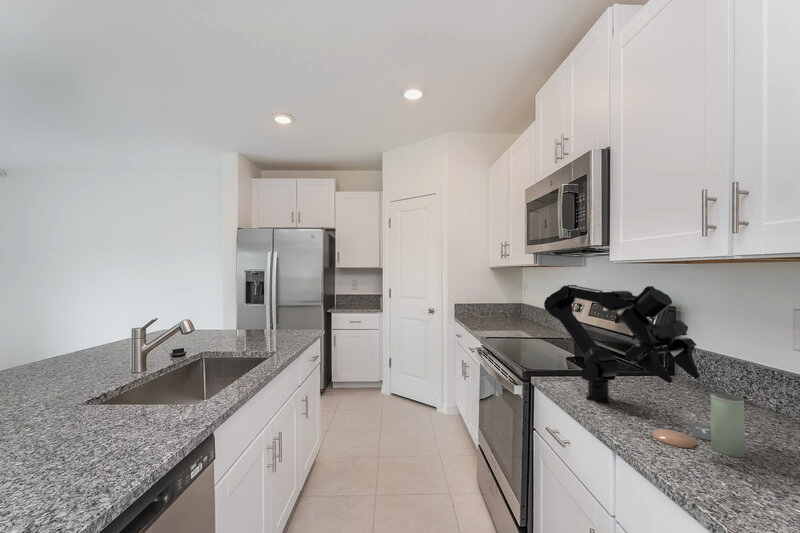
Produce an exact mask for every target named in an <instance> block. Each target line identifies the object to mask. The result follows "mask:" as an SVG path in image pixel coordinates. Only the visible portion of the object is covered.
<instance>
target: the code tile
mask: <svg viewBox="0 0 800 533" xmlns="http://www.w3.org/2000/svg"><path fill="white" fill-rule="evenodd" d="M688 425H689V427H690V429H691V431H692V433H693V435H694V438H695V439H697V440H702V441H703V440H704V441H707V442H711V424H710V425H709V424H703V423H698V422H694V421H693V422H692V421H688Z"/></svg>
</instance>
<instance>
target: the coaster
mask: <svg viewBox="0 0 800 533" xmlns="http://www.w3.org/2000/svg"><path fill="white" fill-rule="evenodd" d="M652 436H653V438H654V439H656V440H657V441H659V442H661V443H663V444H665V445H668V446H672V447H676V448H682V449H690V448H691V449H692V448H695V447H696V446H697V445H696V444H697V442H696V440H695V439H694V437H691V436H690V435H687V434H685V433H683V432H680V431H676V430H672V429H666V428H665V429H664V428H657V429H653V431H652Z"/></svg>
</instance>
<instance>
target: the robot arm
mask: <svg viewBox="0 0 800 533" xmlns="http://www.w3.org/2000/svg"><path fill="white" fill-rule="evenodd" d="M576 299H580V300H584V301H588V302H593V303H596V304H599V305H600V306H601V307H602V308H604V309H606V310H610V311H611V312H612V311H614V312H615V311H622V312H621V313H616V314H615V319H614V323H615V324H624V325H625V327H626V328H627V329H628V330H629V331H630V333H631V334H632V335H631V336H630V338H631V340H632V341H637V342H636V343H635V344H633V345H632V346H631V347H629V348H628V349H627V350H626V351H625V352H624V353H625V354H624V356H625V359H626V360H627V362H629V364H634V365H635V366H639V367H641V368H642V369H644V370H646V371H648V372H649V373H652V374H653V375H655V376H656V377H658V378H660V379H661V380H663V381H664V382H667V383H668V384H671V383H673V381H674V379H673V378H672V377H671V375H670V374H669V372H668V371H667V369H666V368H665V366H664V365H663V364H662V362H661V360H660V359H659V355H660V354H666V355H667V356H668V357H671V358H670V360H671V361H672V362H674V363H675V364H676V365H677V366H678V367H679V368H681V369H682V370H683V371H684V372H686V374H688V375H690V376H691V377H693V379H696V380H698V379H699V378H701V375H700V373H699V371H698V369H697V366H696V363H695V361H694V358H693V353H694V352H693V351H695V347H696V346H697V344H696V342H695V341H694V340H693V339H692V338H689V337H681V338H675V337H680V336H687V335H688V333H687V332H688V331H689V330H688V329H689V326H688V325H686V324H685V322H683V321H682V320H681V319H678V320H677V319H676V320H674V321H670V323H667V324H663V325H660V324H658V323H655V324H654V323H653V322H652V320H650V318H652V319H653V318H656V317H657V316H659V315H660V314H661V313H663V312H664V311H665V310H666V309H668V307H670V306H671V305H672V304H673V300H672V298H671V297H670V295H668V294H667V293H665V292H664V291H661V290H660V289H658V288H656V287H655V286H652V285H651V286H646V287H645V288H643V290H642V291H641V293H639V294H638V295H634V294H633V293H632V292H631V291H629V290H601V289H600V290H599V289H595V288H590V287H584V286H580V285H577V284H565V285H564V286H562V287H561V288H560V289H558V290H557V291H555V292H553V293H551V294H550V295H549V296H547V297H546V298H545V300H544V302H543V303H544V304H543V305H544V306H543V307H544V309H545V311H546V312H547V313H549V316H551V317H553V318H555V319H557V320H558V321H559V322H560V323H561V324H562V325H563V327H564V328H565V330H566V331H567V333H568V334H569V336H570V337H571V338H572V340H573V342H575V343H576V345H577V346H578V348H579V349H580V351H581V352H582V354H583V359H584V364H585V367H584V368H583V369H581V370H580V372H579V373H580V376H581V379H582V380H585V381H587V393H586V397H585V400H587V401H593V402H599V403H603V404H611V399H612V398H611V395H610V391H609V390H610V388H609V387H610V385H609V384H610V383H609V381H614V380H615V379H616V376H617V375H618V373H619V371H620V369H619V368H620V365H619V363H618V361H617V360H618V358H617V357H615V356H614V354H613V353H612V352H611V350H610V349H609V348H601V347H599V346H598V345H597V344H596V342H595V341H594V340H593V338H592V337H591V336H590V334H589V333H588V332H587V330H586V329H585V327H583V325H582V324H581V322H580V321H579V319H578V318H577V317H576V316H575V315H574V313H573V310H574V309H573V304H574V303H575V301H576ZM674 338H675V339H674Z"/></svg>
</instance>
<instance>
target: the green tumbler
mask: <svg viewBox="0 0 800 533" xmlns="http://www.w3.org/2000/svg"><path fill="white" fill-rule="evenodd" d="M709 397H710V426H711V441H710V443H711V449H713V450H714V451H715V452H718V453H720V454H722V455H726V456H729V457H734V458H745V457H746V435H745V431H746V430H745V428H746V427H745V399H744V398H743V397H741V396H739V395H735V394H731V393H726V392H717V391H716V392H710V393H709Z"/></svg>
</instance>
